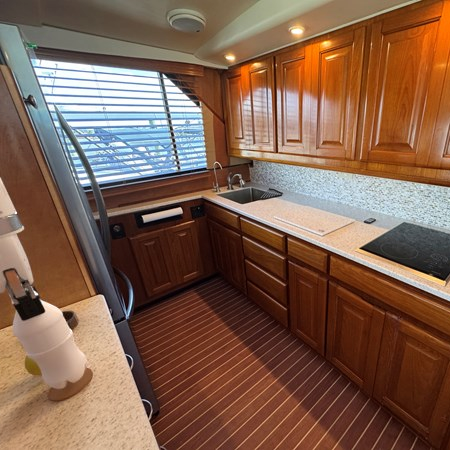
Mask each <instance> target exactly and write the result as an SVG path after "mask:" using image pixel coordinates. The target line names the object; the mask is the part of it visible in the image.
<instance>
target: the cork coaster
mask: <svg viewBox="0 0 450 450" xmlns="http://www.w3.org/2000/svg"><path fill="white" fill-rule="evenodd" d="M93 375H94V372H93V370H92V369H91V368H90V367H86V370H85V371H84V374H83V376H82V377H81V378H80V379H79V380H78V381H77V382H75V383H72V382H70V381H67V384H66V387H64V388H62V389H55V388H52V387H49V390H48V391H47V397H48V399H49V401H51V402H54V403H55V402H62V401H66V400H67V399H68V400H69V399H70V398H72V397H74V396H76V395H77V394H79V393H80V392H81V391H82V390H84V389H85V388H86V387H87V386H88V385H89V384H90V382H91V381H92V379H93V377H94V376H93Z"/></svg>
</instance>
